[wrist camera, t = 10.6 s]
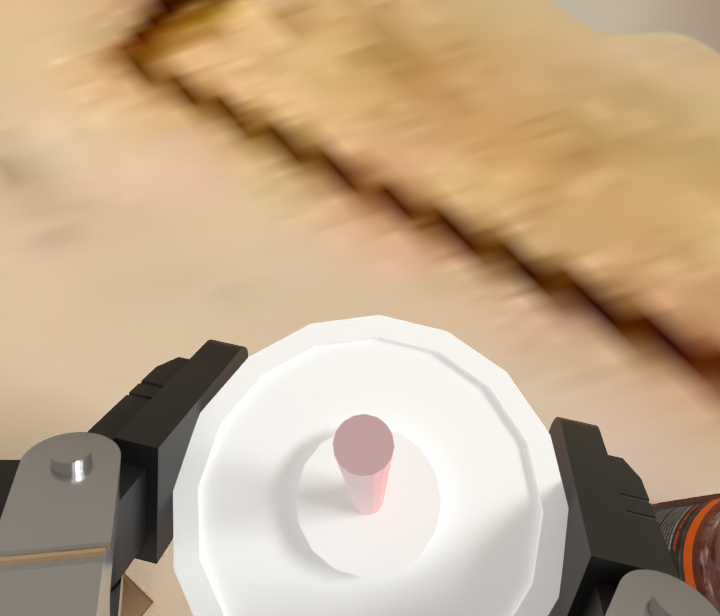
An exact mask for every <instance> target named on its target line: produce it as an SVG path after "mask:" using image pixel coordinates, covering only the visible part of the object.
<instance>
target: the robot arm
mask: <svg viewBox="0 0 720 616" xmlns="http://www.w3.org/2000/svg"><path fill="white" fill-rule="evenodd" d="M247 358H248V351H247V348H246V347H243V346H238V345H234V344H229V343H225V342H220V341H215V340H208V341H207V342H206V343H205V344H204V345H203V346H202V347H201V348H200V349H199V350H198V351H197V352H196V353H195V354H194V355H193V356H192V357H191V358H190V359H185V358H180V357H178V358H176V359H173V360H171V361H169V362H167V363H164V364H162V365H160V366H157V367H156V368H155V369H154V370H153V371H152V372H150V373H149V374H148V375H147V376H146V377H145V378H144V379H143V380H142V382H141V384H138V385H137V386H136V387H135V388H134V389H132V390H131V391H130V393H129V396H128V395H126V396H125V397H124V398H123V399H122V400H121V401H120V402H119V403H118V404H117V405H115V406H114V407H113V408H112V409H111V410H110V411H109V412H108V413H107V414H106V415H105V416H104V417H103V418H102V419H101V420H100V421H99V422H97V423H96V424H95V425H94V426H93V427H92V428H91V429H90V430H89V431H88V432H76V433H67V434H61V435H58V436H54V437H51V438H49V439H46V440H44V441H42V442H40V443H38V444H36V445H35V446H33V447H32V448H31V449H30V450H28V451H27V452H26V453H25V455H24V456H23V457H22V459H21V460H0V616H121V604H122V593H123V574H124V572H125V571H126V570H127V568H128V567H129V565H130V564H131V562H132V561H133V559H134V558H137V559H140V560H144V561H148V562H152V563H155V564H157V563H158V561H159V559H160V558H161V556H162V555H163V553H164V552H165V550H166V549H167V547H168V545H169V544H170V542H171V541H172V539H173V490H174V487H175V484H176V481H177V478H178V475H179V472H180V469H181V466H182V463H183V460H184V457H185V454H186V451H187V448H188V445H189V443H190V440H191V437H192V434H193V431H194V428H195V425H196V423H197V420H198V417H199V415H200V412H201V411H202V410H203V409H204V408H205V407H206V406H207V404H208V403H209V402H210V401H211V400H212V399H213V397H214V396H215V395H216V394H217V393H218V392H219V391H220V389H221V388H222V387H223V386H224V385H225V384H226V383H227V381H228V380H229V379H230V378H231V377H232V376H233V374H234V373H235V372H236V371H237V370H238V369H239V368H240V366H241V365H242V364H243V363H244V362H245V361H246V360H247ZM549 434H550V436H551V440H552V444H553V448H554V452H555V456H556V460H557V464H558V468H559V472H560V476H561V480H562V484H563V488H564V492H565V496H566V500H567V504H568V508H569V509H568V519H567V529H566V539H565V548H564V558H563V568H562V577H561V584H560V592H559V598H558V600H557V601H556V603H555V605H554V606H553V608H552V610H551V612H550V613H549V615H548V616H720V614H719V612H718V611H717V610H716V609H715V607H714V606H713V605H712V604H711V603H710V602H709V601H708V600H707V599H706V598H705V597H704V596H703V595H702V594H700V593H699V592H698V591H697V590H695V589H694V588H692V587H691V586H690V585H688V584H686V583H685V582H683V581H681V580H680V578H679V575H678V572H677V570H676V567H675V565H674V562H673V560H672V557H671V554H670V552H669V549H668V547H667V544H666V542H665V539H664V536H663V534H662V531H661V529H660V526H659V524H658V522H657V521H655V519H656V516H655V513H654V511H653V508H652V506H651V504H649V498H648V495H647V493H646V490H645V488H644V485H643V483H642V480H641V478H640V477H639V476H638V475H637V474H636V473H635V472H634V471H633V469H632V468H631V467H630V466H629V465H628V464H627V463H626V462H625V461H624V459H623V458H619V457H614V456H610V455H608V454H607V451H606V448H605V445H604V442H603V439H602V436H601V433H600V430H599V428H598V426H596V425H591V424H587V423H582V422H578V421H573V420H569V419H564V418H560V417H556V418H555V419H554V421H553V423H552V425H551V428H550V431H549Z"/></svg>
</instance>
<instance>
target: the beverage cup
mask: <svg viewBox="0 0 720 616" xmlns="http://www.w3.org/2000/svg"><path fill="white" fill-rule="evenodd" d="M568 509H569V508H568V504H567V500H566V496H565V492H564V488H563V484H562V480H561V476H560V472H559V468H558V464H557V460H556V456H555V452H554V448H553V444H552V440H551V436H550V434H549V432H548V431H547V429H546V428H545V427H544V425H543V424H542V422H541V421H540V419H539V418H538V416H537V415H536V414H535V412H534V411H533V409H532V408H531V406H530V405H529V404H528V402H527V401H526V399H525V398H524V396H523V395H522V393H521V392H520V391H519V389H518V388H517V386H516V385H515V383H514V382H513V381H512V379H511V378H510V376H509V375H508V373H507V372H506V371H504V370H503V369H501V368H500V367H498V366H497V365H495V364H494V363H493V362H491V361H490V360H488V359H487V358H485V357H484V356H482V355H481V354H479V353H478V352H476V351H475V350H474V349H472V348H471V347H469V346H468V345H466V344H465V343H463V342H462V341H460V340H459V339H458V338H456V337H455V336H453V335H452V334H450V333H449V332H447V331H444V330H440V329H435V328H431V327H427V326H423V325H419V324H415V323H411V322H406V321H402V320H398V319H394V318H390V317H386V316H382V315H375V316H367V317H359V318H352V319H344V320H336V321H328V322H321V323H313V324H309V325H308V326H306V327H304V328H302V329H300V330H298V331H296V332H295V333H293V334H291V335H289V336H287V337H285V338H283V339H281V340H280V341H278V342H276V343H274V344H272V345H270V346H268V347H267V348H265V349H263V350H261V351H259V352H257V353H255V354H254V355H252V356H250V357H248V358H247V360H246V361H245V362H244V363H243V364H242V365H241V366H240V368H239V369H238V370H237V371H236V372H235V373H234V374H233V376H232V377H231V378H230V379H229V380H228V381H227V383H226V384H225V385H224V386H223V387H222V388H221V389H220V391H219V392H218V393H217V394H216V395H215V396H214V397H213V399H212V400H211V401H210V402H209V403H208V404H207V406H206V407H205V408H204V409H203V410H202V411H201V412H200V415H199V417H198V420H197V423H196V425H195V428H194V431H193V434H192V437H191V440H190V443H189V445H188V448H187V451H186V454H185V457H184V460H183V463H182V466H181V469H180V472H179V475H178V478H177V481H176V484H175V487H174V490H173V541H174V570H175V573H176V575H177V578H178V580H179V582H180V585H181V587H182V590H183V592H184V594H185V597H186V599H187V602H188V604H189V606H190V609H191V611H192V614H193V616H548V615H549V613H550V612H551V610H552V608H553V606H554V605H555V603H556V601H557V600H558V598H559V592H560V584H561V577H562V568H563V558H564V548H565V539H566V529H567V519H568Z"/></svg>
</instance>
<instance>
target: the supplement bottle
mask: <svg viewBox="0 0 720 616" xmlns="http://www.w3.org/2000/svg"><path fill="white" fill-rule="evenodd" d="M651 506H652V508H653V511H654V513H655V516H656V519H655V521H657V522H658V524H659V526H660V529H661V531H662V534H663V536H664V539H665V542H666V544H667V547H668V549H669V552H670V554H671V557H672V560H673V562H674V565H675V567H676V570H677V572H678V575H679V578H680V580H681V581H683V582H685V583H686V584H688V585H690V586H691V587H692V588H694V589H695V590H697V591H698V592H699V593H700V594H702V595H703V596H704V597H705V598H706V599H707V600H708V601H709V602H710V603H711V604H712V605H713V606H714V607H715V609H716V610H717V611H718V612H719V614H720V494H713V495H706V496H700V497H694V498H688V499H681V500H674V501H668V502H661V503H657V504H653V505H651Z"/></svg>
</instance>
